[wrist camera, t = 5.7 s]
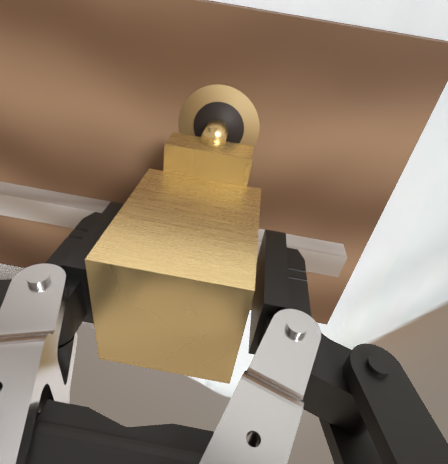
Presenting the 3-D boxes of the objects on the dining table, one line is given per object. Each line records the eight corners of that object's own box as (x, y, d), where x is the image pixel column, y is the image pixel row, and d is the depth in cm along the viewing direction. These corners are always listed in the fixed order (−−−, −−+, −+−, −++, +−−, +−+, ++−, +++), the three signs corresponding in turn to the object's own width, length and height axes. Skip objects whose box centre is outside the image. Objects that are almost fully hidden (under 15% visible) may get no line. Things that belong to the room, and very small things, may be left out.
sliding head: (166, 110, 13) (77, 206, 7) (270, 128, 13) (268, 241, 7) (161, 242, 16) (101, 376, 11) (242, 257, 16) (224, 400, 11)
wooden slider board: (-228, -74, 12) (-405, -99, 9) (445, 41, 12) (509, 58, 9) (-79, 229, 21) (-144, 273, 17) (323, 304, 20) (333, 363, 17)
